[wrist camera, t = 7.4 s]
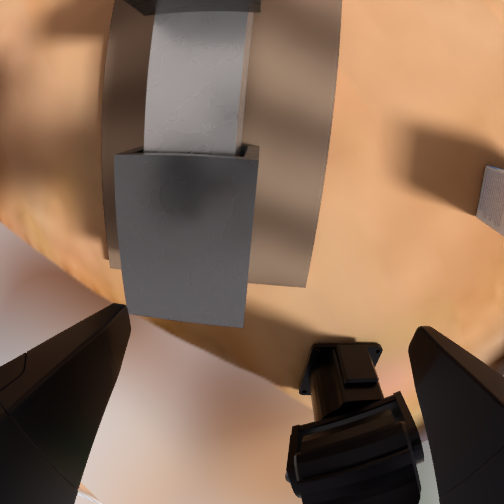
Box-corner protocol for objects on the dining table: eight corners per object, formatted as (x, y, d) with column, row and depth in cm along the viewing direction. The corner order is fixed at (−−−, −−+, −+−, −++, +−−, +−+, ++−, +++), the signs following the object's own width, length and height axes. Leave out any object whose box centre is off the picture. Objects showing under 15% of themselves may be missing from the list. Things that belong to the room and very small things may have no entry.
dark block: (247, 182, 17) (229, 267, 8) (160, 176, 17) (60, 249, 7) (268, -41, 11) (273, -152, 2) (182, -40, 11) (120, -134, 2)
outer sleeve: (248, 269, 20) (243, 327, 15) (159, 261, 20) (128, 313, 15) (259, 146, 17) (258, 160, 11) (158, 141, 17) (113, 154, 11)
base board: (303, 280, 21) (305, 287, 21) (115, 261, 21) (110, 268, 20) (339, -28, 12) (342, -33, 11) (128, -30, 12) (122, -35, 11)
